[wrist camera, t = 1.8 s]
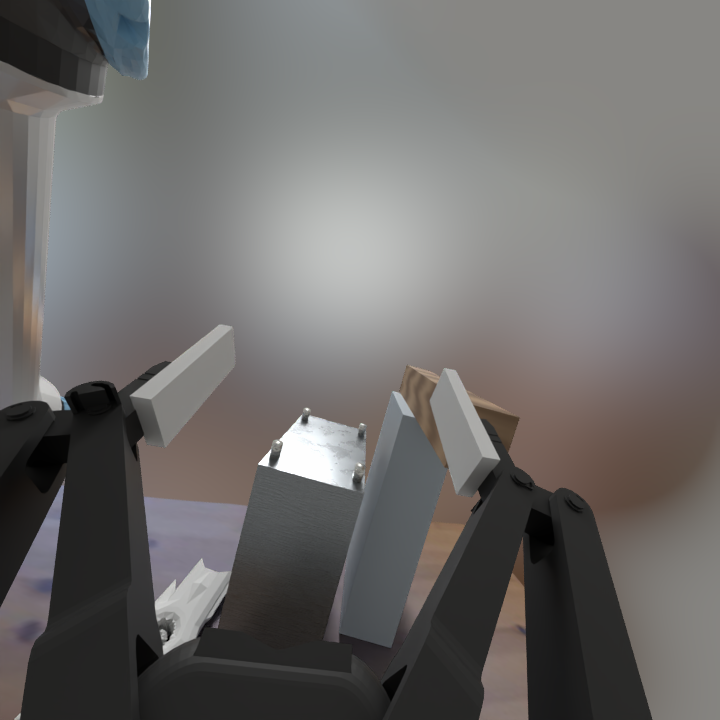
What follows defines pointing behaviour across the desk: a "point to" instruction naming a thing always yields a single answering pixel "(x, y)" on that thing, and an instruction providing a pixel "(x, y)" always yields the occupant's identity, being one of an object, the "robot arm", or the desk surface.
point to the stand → (390, 527)
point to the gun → (189, 605)
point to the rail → (417, 397)
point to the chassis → (297, 533)
